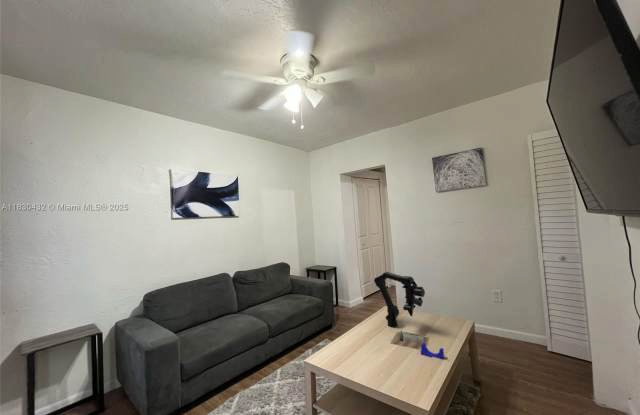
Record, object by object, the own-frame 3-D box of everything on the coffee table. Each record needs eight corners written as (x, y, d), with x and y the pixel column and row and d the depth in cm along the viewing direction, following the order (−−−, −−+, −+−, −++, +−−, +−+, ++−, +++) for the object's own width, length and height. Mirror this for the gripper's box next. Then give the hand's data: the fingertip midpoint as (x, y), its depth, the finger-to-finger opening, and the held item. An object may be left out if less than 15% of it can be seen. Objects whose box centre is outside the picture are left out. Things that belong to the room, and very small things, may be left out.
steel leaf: (399, 340, 173) (399, 331, 174) (400, 339, 175) (399, 330, 175) (423, 345, 165) (422, 336, 166) (423, 344, 167) (423, 334, 167)
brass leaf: (403, 339, 174) (403, 332, 174) (403, 339, 175) (403, 331, 175) (423, 343, 167) (423, 335, 167) (424, 342, 168) (423, 335, 168)
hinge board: (390, 344, 171) (389, 343, 171) (397, 333, 186) (397, 332, 186) (424, 351, 159) (424, 350, 159) (429, 338, 175) (429, 337, 175)
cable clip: (421, 356, 155) (420, 346, 156) (423, 352, 159) (422, 343, 159) (442, 362, 148) (441, 351, 148) (444, 358, 151) (443, 348, 151)
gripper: (418, 299, 174) (420, 322, 173) (423, 291, 190) (425, 313, 189) (402, 298, 180) (404, 320, 179) (408, 290, 196) (410, 310, 195)
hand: (411, 316), depth 186 cm, fingers closed
